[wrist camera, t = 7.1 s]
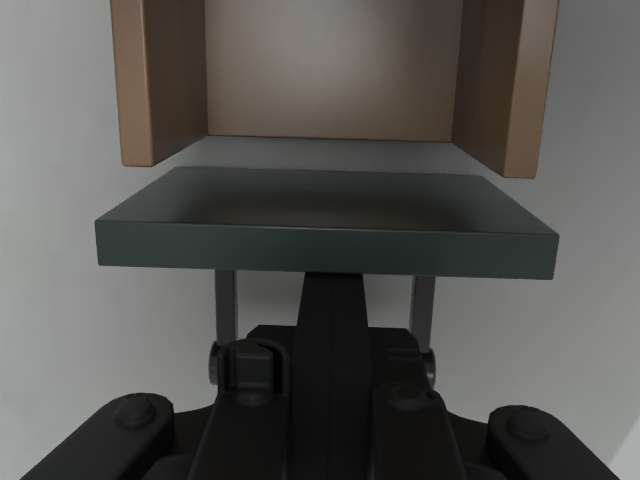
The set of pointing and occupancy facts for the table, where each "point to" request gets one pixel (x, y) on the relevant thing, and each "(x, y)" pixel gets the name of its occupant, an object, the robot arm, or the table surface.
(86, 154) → the table surface
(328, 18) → the drawer
